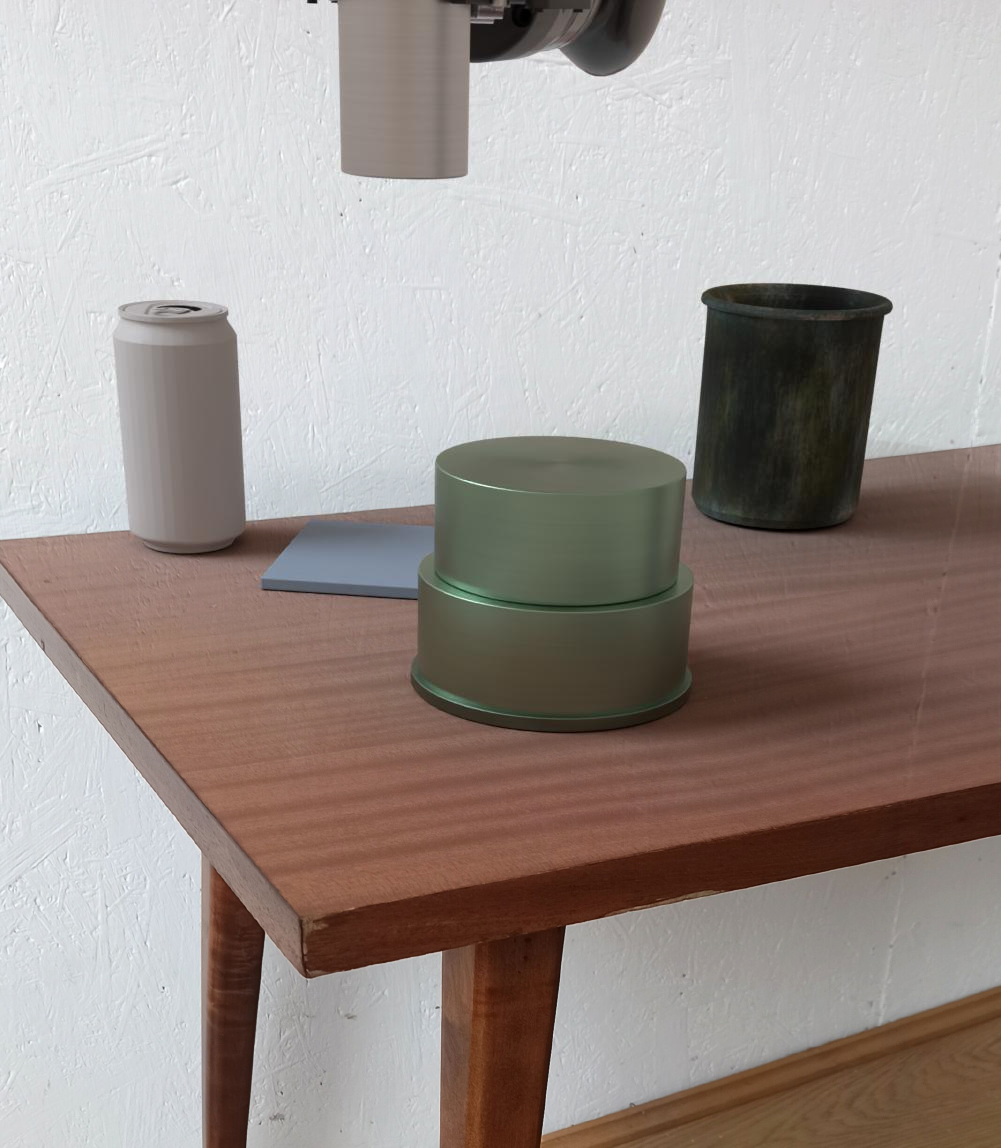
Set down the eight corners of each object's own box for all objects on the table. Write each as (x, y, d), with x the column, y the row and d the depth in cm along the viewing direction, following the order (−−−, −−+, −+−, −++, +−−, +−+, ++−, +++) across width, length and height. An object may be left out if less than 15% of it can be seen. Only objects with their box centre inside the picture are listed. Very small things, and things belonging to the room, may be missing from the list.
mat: (519, 542, 97) (519, 531, 97) (492, 604, 87) (493, 592, 87) (310, 529, 98) (310, 518, 98) (260, 589, 88) (260, 577, 88)
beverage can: (262, 531, 98) (253, 301, 91) (222, 561, 92) (208, 318, 86) (157, 521, 99) (140, 293, 92) (111, 550, 93) (89, 310, 87)
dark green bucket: (652, 516, 103) (669, 297, 96) (746, 470, 114) (767, 271, 107) (824, 545, 99) (854, 318, 92) (905, 495, 109) (936, 288, 103)
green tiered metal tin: (694, 646, 82) (713, 439, 77) (686, 741, 72) (707, 508, 67) (434, 629, 83) (435, 423, 78) (388, 720, 73) (386, 489, 68)
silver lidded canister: (480, 169, 84) (485, -78, 79) (461, 182, 79) (465, -82, 73) (351, 164, 85) (347, -82, 79) (324, 176, 79) (317, -87, 74)
